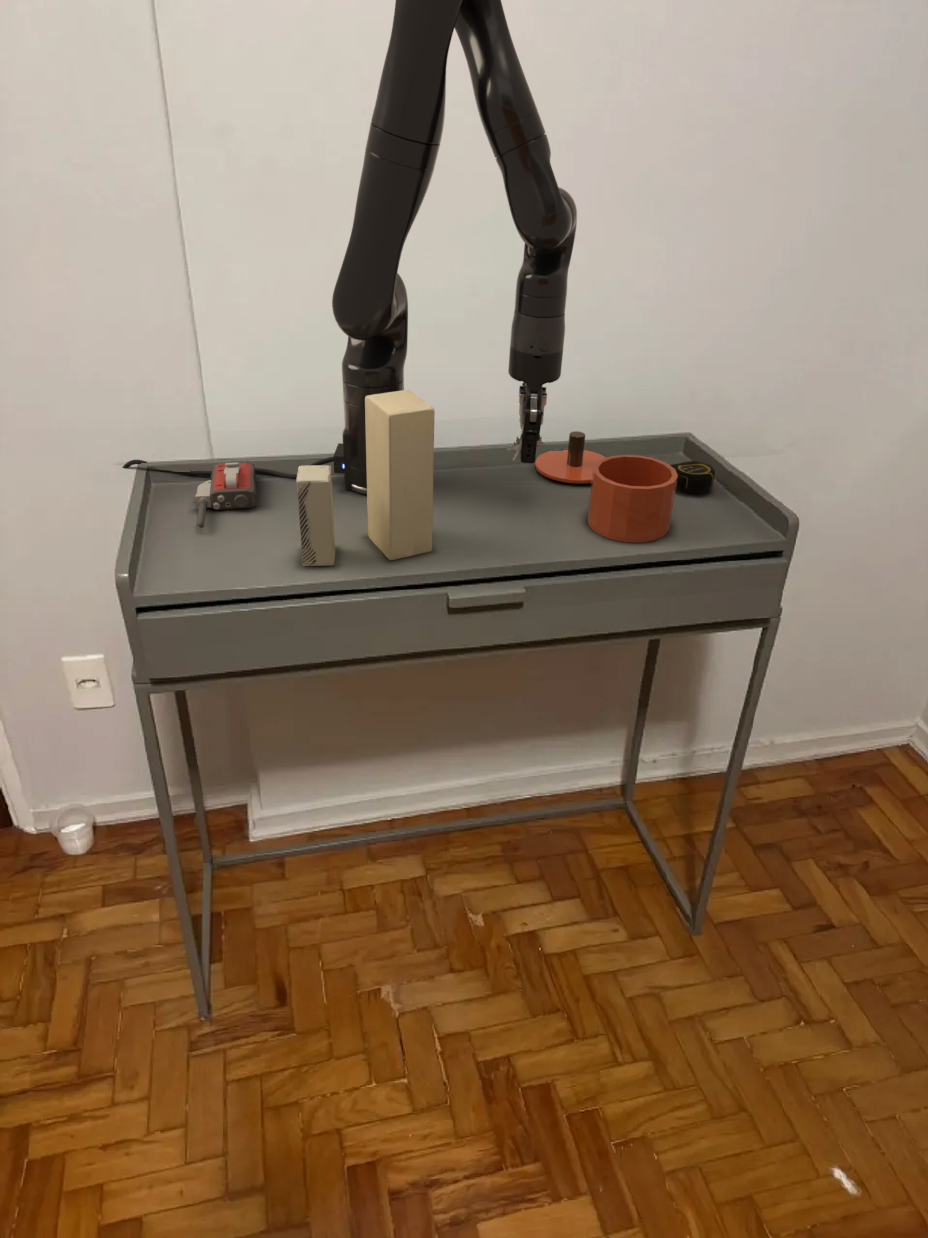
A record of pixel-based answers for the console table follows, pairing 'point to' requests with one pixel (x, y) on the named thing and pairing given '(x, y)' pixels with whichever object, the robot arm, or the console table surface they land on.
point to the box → (316, 515)
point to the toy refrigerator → (399, 472)
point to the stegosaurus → (519, 442)
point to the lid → (569, 461)
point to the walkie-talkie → (227, 488)
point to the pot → (631, 498)
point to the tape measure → (694, 476)
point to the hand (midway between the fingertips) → (527, 457)
